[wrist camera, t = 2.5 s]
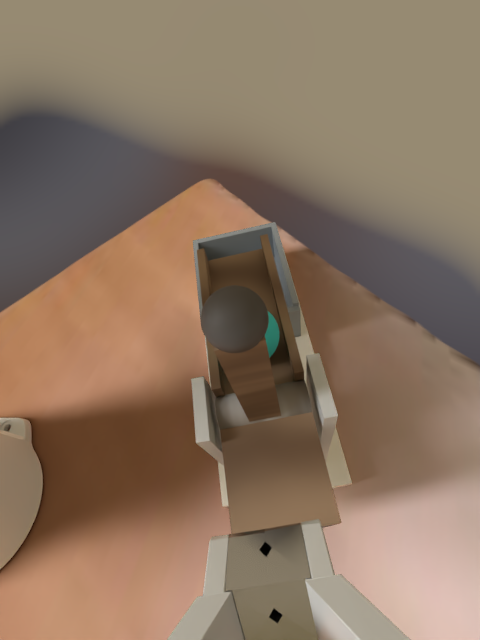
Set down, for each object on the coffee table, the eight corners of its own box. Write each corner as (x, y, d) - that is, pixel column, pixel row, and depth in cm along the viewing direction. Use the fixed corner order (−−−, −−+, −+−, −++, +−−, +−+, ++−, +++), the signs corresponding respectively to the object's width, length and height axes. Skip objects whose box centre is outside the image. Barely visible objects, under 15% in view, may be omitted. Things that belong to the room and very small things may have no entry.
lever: (332, 525, 24) (383, 509, 8) (250, 539, 24) (149, 550, 9) (275, 295, 35) (250, 100, 19) (218, 307, 35) (148, 125, 19)
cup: (300, 336, 40) (300, 307, 35) (214, 353, 40) (201, 328, 35) (278, 255, 47) (275, 222, 41) (204, 272, 47) (192, 240, 42)
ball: (217, 370, 24) (203, 343, 20) (232, 321, 26) (220, 288, 22) (275, 380, 23) (270, 353, 19) (285, 327, 25) (282, 294, 21)
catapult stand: (350, 485, 32) (385, 446, 18) (225, 507, 33) (164, 487, 19) (283, 255, 48) (274, 138, 34) (200, 273, 49) (157, 167, 35)
